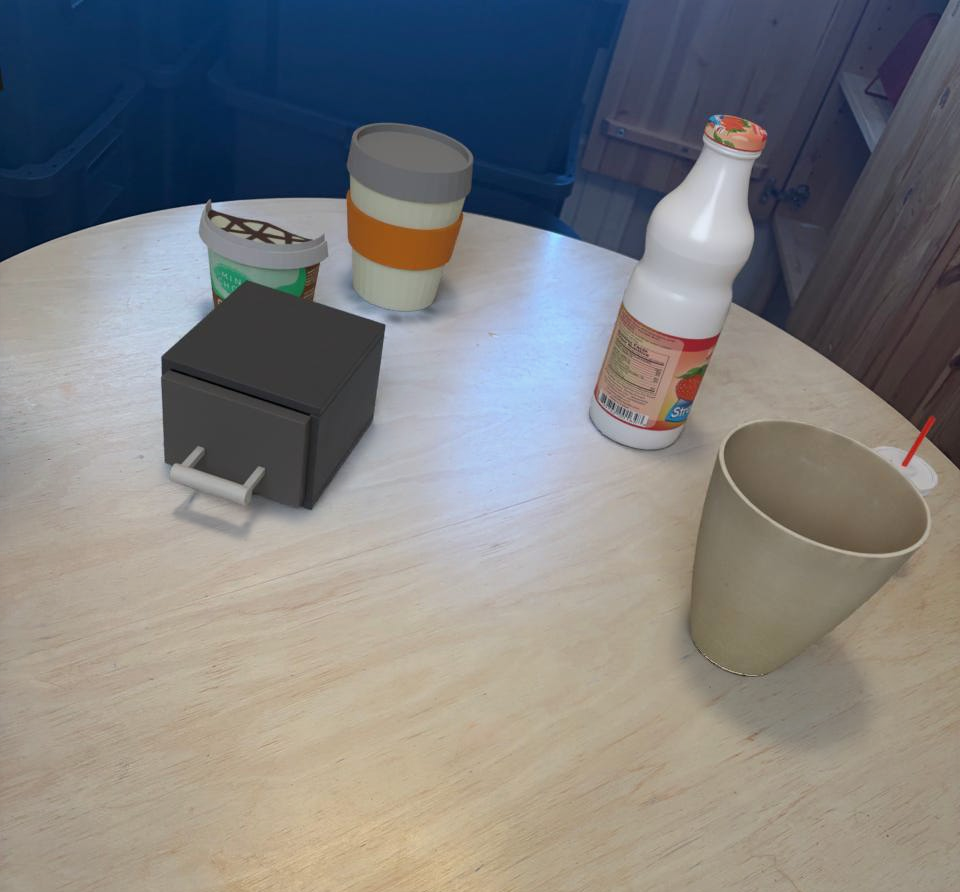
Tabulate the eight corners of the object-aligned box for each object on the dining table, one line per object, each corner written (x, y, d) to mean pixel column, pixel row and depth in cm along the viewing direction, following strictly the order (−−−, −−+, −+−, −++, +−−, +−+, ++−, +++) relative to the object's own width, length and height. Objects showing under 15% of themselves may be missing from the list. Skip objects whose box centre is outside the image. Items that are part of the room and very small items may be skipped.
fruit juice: (588, 389, 100) (678, 93, 81) (677, 409, 101) (788, 120, 81) (586, 440, 94) (684, 131, 74) (681, 461, 94) (803, 160, 75)
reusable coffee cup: (318, 265, 108) (330, 120, 97) (421, 260, 113) (443, 123, 103) (362, 323, 101) (379, 174, 90) (470, 316, 106) (498, 174, 96)
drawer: (276, 538, 74) (281, 454, 69) (137, 491, 75) (131, 404, 69) (359, 422, 87) (368, 343, 81) (238, 383, 87) (240, 302, 82)
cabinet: (311, 510, 79) (320, 408, 72) (165, 462, 79) (160, 356, 73) (373, 420, 89) (386, 324, 82) (243, 378, 90) (246, 279, 83)
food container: (177, 324, 94) (174, 221, 87) (205, 297, 98) (204, 197, 91) (299, 361, 94) (306, 260, 86) (322, 333, 98) (330, 235, 91)
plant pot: (693, 726, 70) (784, 560, 59) (617, 583, 80) (684, 417, 68) (863, 707, 75) (977, 550, 64) (773, 574, 84) (859, 418, 73)
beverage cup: (893, 546, 91) (975, 418, 81) (878, 579, 87) (963, 448, 77) (832, 516, 92) (905, 387, 83) (814, 548, 88) (889, 416, 79)
